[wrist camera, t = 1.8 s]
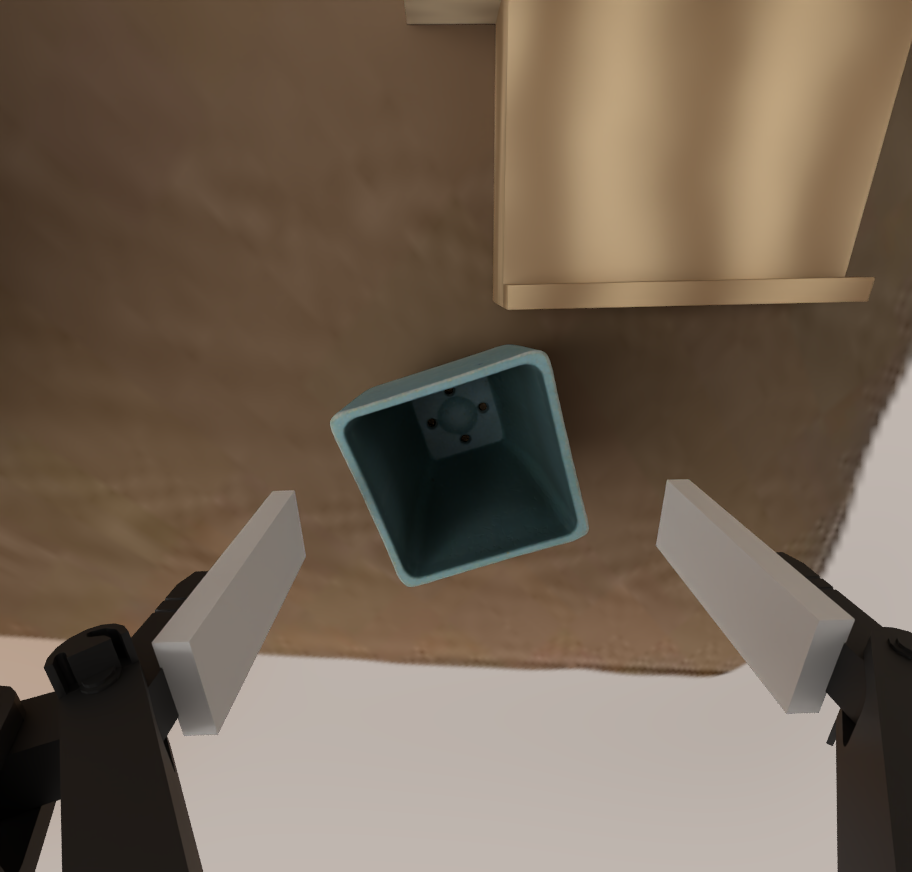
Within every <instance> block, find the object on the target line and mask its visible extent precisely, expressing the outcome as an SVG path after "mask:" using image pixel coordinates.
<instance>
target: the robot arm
mask: <svg viewBox="0 0 912 872" xmlns="http://www.w3.org/2000/svg"><path fill="white" fill-rule="evenodd" d="M656 546H657V548H658V549H659V550H660V552H661V553H662V554H663V555H664V557H665V558H666V559H667V561H668V562H669V563H670V564H671V566H672V567H673V568H674V570H675V571H676V572H677V573H678V575H679V576H680V577H681V579H682V580H683V581H684V582H685V584H686V585H687V586H688V588H689V589H690V590H691V591H692V593H693V594H694V595H695V597H696V598H697V599H698V600H699V602H700V603H701V604H702V606H703V607H704V608H705V609H706V611H707V612H708V613H709V615H710V616H711V617H712V619H713V620H714V621H715V622H716V624H717V625H718V626H719V628H720V629H721V630H722V631H723V633H724V634H725V635H726V637H727V638H728V639H729V640H730V642H731V643H732V644H733V646H734V647H735V648H736V649H737V651H738V652H739V653H740V655H741V656H742V657H743V658H744V660H745V661H746V662H747V664H748V665H749V666H750V667H751V669H752V670H753V671H754V672H755V674H756V675H757V676H758V678H759V679H760V680H761V682H762V683H763V684H764V685H765V687H766V688H767V689H768V691H769V692H770V693H771V694H772V696H773V697H774V698H775V700H776V701H777V702H778V704H779V705H780V706H781V707H782V709H783V710H784V711H785V713H786V714H792V713H819V711H820V708H821V706H822V703H823V701H824V698H825V696H826V693H828V695H829V696H830V697H831V698H832V699H833V700H834V701H835V702H836V703H837V705H839V707H840V710H839V713H838V715H837V718H836V720H835V723H834V725H833V728H832V730H831V732H830V735H829V737H828V740H827V742H826V743H827V744H829V745H831V746H833V744H834V742H835V740H836V766H837V767H836V773H837V845H838V846H837V848H838V849H837V851H838V853H837V854H838V872H912V633H911V632H908V631H904V630H901V629H897V628H891V627H882V626H881V625H879V624H878V623H877V622H876V621H874V620H873V619H872V618H871V617H870V616H868V615H867V614H866V613H865V612H863V611H862V610H861V609H860V608H858V607H857V606H856V605H855V604H853V603H852V602H851V601H850V600H848V599H847V598H846V597H845V596H843V595H842V594H841V593H840V592H839V591H837V590H834V589H833V587H832V586H831V585H830V584H829V583H827V582H826V581H825V580H824V579H820V577H819V575H817V574H816V573H815V572H814V571H812V570H811V569H810V568H809V567H808V566H806V565H805V564H804V563H802V562H800V561H798V560H796V559H794V558H793V557H791V556H789V555H787V554H785V553H783V552H774V551H773V550H772V549H771V548H770V547H768V546H767V545H766V544H765V543H764V542H763V541H761V540H760V539H759V538H758V537H757V536H755V535H754V534H753V533H752V532H751V531H749V530H748V529H747V528H746V527H745V526H744V525H742V524H741V523H740V522H739V521H738V520H736V519H735V518H734V517H733V516H732V515H730V514H729V513H728V512H727V511H726V510H725V509H723V508H722V507H721V506H720V505H719V504H717V503H716V502H715V501H714V500H713V499H711V498H710V497H709V496H708V495H707V494H706V493H704V492H703V491H702V490H701V489H700V488H698V487H697V486H696V485H695V484H694V483H692V482H691V481H690V480H689V479H676V480H667V483H666V489H665V495H664V501H663V507H662V513H661V519H660V524H659V530H658V536H657V542H656ZM305 557H306V554H305V548H304V542H303V536H302V530H301V524H300V519H299V513H298V507H297V501H296V495H295V490H290V491H272V492H271V494H270V495H269V496H268V497H267V499H266V500H265V501H264V503H263V504H262V505H261V506H260V508H259V509H258V510H257V511H256V513H255V514H254V515H253V516H252V518H251V519H250V520H249V521H248V523H247V524H246V525H245V526H244V528H243V529H242V530H241V531H240V533H239V534H238V535H237V536H236V538H235V539H234V540H233V541H232V543H231V544H230V545H229V546H228V548H227V549H226V550H225V551H224V553H223V554H222V555H221V556H220V558H219V559H218V560H217V561H216V563H215V564H214V565H213V566H212V568H211V569H210V570H209V571H200V572H194V573H193V574H191V575H190V576H189V577H187V578H186V579H184V580H183V581H181V582H180V583H179V584H177V585H176V587H175V588H174V589H173V590H172V591H171V592H170V594H169V595H168V596H167V597H166V598H165V601H163V602H162V603H161V604H160V605H159V606H158V607H157V609H156V610H155V613H152V614H151V615H150V617H149V618H148V619H147V620H146V621H145V622H144V624H143V625H142V626H141V627H140V628H139V629H138V631H137V632H136V633H135V634H134V635H133V636H132V637H130V635H129V632H128V630H127V629H126V628H125V626H123V625H119V624H105V625H100V626H96V627H93V628H90V629H87V630H85V631H83V632H81V633H79V634H77V635H75V636H73V637H71V638H69V639H68V640H67V641H65V642H64V643H62V644H61V645H60V646H58V647H57V648H56V649H55V650H54V651H53V652H52V653H51V655H50V656H49V657H48V658H47V660H46V663H45V666H44V669H45V671H46V673H47V675H48V677H49V680H50V682H51V684H52V686H53V688H54V690H55V692H52V693H48V694H44V695H41V696H37V697H34V698H30V699H26V700H22V701H20V699H19V697H18V696H17V694H16V692H15V691H14V690H13V689H12V688H11V687H9V686H0V872H35V869H36V866H37V863H38V860H39V856H40V853H41V850H42V846H43V843H44V839H45V836H46V833H47V829H48V826H49V823H50V820H51V817H52V813H53V810H54V806H55V803H56V801H57V800H60V799H61V832H62V833H61V834H62V835H61V836H62V872H203V869H202V865H201V862H200V858H199V854H198V850H197V846H196V842H195V839H194V835H193V831H192V827H191V823H190V819H189V816H188V811H187V808H186V804H185V800H184V796H183V792H182V789H181V784H180V781H179V777H178V773H177V769H176V766H175V762H174V758H173V754H172V750H171V746H170V743H169V740H168V738H167V735H168V733H169V731H170V730H171V728H172V726H173V725H174V723H175V721H176V720H177V718H178V720H179V723H180V726H181V729H182V732H183V735H184V736H191V735H218V733H219V731H220V729H221V727H222V725H223V723H224V721H225V719H226V717H227V715H228V713H229V711H230V709H231V707H232V705H233V703H234V701H235V699H236V697H237V695H238V693H239V691H240V689H241V687H242V684H243V683H244V681H245V678H246V677H247V674H248V672H249V670H250V668H251V666H252V664H253V662H254V660H255V658H256V656H257V654H258V652H259V650H260V648H261V646H262V644H263V642H264V640H265V638H266V636H267V634H268V632H269V630H270V628H271V626H272V624H273V622H274V620H275V618H276V616H277V614H278V612H279V610H280V608H281V606H282V604H283V602H284V600H285V598H286V596H287V594H288V592H289V590H290V588H291V586H292V584H293V582H294V579H295V577H296V575H297V573H298V571H299V569H300V567H301V565H302V563H303V561H304V559H305Z"/></svg>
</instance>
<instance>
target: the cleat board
mask: <svg viewBox="0 0 912 872" xmlns="http://www.w3.org/2000/svg"><path fill="white" fill-rule="evenodd" d="M404 5H405V13H406V21H407V24H496V43H495V139H494V235H493V302H495V303H496V304H498V305H500V306H502V307H504V308H505V309H507V310H520V309H563V308H605V307H647V306H689V305H731V304H774V303H816V302H858V301H868V299H869V296H870V292H871V289H872V286H873V283H874V279H875V277H845V274H846V271H847V267H848V264H849V260H850V257H851V253H852V250H853V246H854V243H855V239H856V236H857V232H858V229H859V225H860V222H861V218H862V215H863V211H864V208H865V204H866V200H867V197H868V193H869V190H870V186H871V183H872V179H873V176H874V172H875V169H876V165H877V162H878V158H879V155H880V151H881V148H882V144H883V141H884V137H885V134H886V130H887V127H888V123H889V120H890V116H891V112H892V109H893V105H894V102H895V98H896V95H897V91H898V88H899V84H900V81H901V77H902V74H903V70H904V67H905V63H906V60H907V56H908V53H909V49H910V46H911V42H912V0H404Z"/></svg>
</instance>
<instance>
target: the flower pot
mask: <svg viewBox="0 0 912 872" xmlns="http://www.w3.org/2000/svg"><path fill="white" fill-rule="evenodd" d="M449 388H453V389H454V390H453V393H452V394H446V393H445V391H444V390H446V389H449ZM480 403H485V404H486V405H487V408H486V409H485V410H484V411H481V410H479V408H478V406H479V404H480ZM429 419H434V420H435V421H436V425H435V426H433V427H430V426H429V425H428V420H429ZM330 427H331V430H332V432H333V435H334V437H335V440H336V442H337V444H338V446H339V448H340V450H341V452H342V455H343V457H344V458H345V460H346V462H347V465H348V467H349V469H350V471H351V473H352V475H353V477H354V480H355V481H356V483H357V485H358V487H359V490H360V492H361V494H362V496H363V498H364V500H365V503H366V505H367V507H368V509H369V511H370V514H371V516H372V518H373V520H374V523H375V524H376V527H377V529H378V531H379V533H380V536H381V537H382V540H383V542H384V545H385V547H386V549H387V551H388V554H389V556H390V559H391V561H392V563H393V566H394V568H395V571H396V573H397V575H398V577H399V579H400V580H401V581H402V582H403V583H404V584H405V585H406V586H408V587H414V586H419V585H423V584H426V583H430V582H433V581H436V580H440V579H443V578H447V577H450V576H453V575H456V574H460V573H463V572H466V571H469V570H473V569H476V568H479V567H483V566H486V565H489V564H494V563H497V562H500V561H503V560H506V559H509V558H513V557H516V556H520V555H523V554H526V553H532V552H535V551H538V550H541V549H545V548H549V547H552V546H556V545H561V544H565V543H568V542H572V541H574V540H577V539H579V538H581V537H582V536H584V535H586V534H587V532H588V530H589V526H588V519H587V515H586V512H585V507H584V503H583V500H582V495H581V491H580V488H579V483H578V479H577V475H576V471H575V466H574V463H573V459H572V454H571V450H570V446H569V440H568V437H567V433H566V429H565V424H564V419H563V415H562V411H561V406H560V401H559V398H558V393H557V388H556V383H555V379H554V375H553V369H552V366H551V363H550V359H549V357H548V356H547V354H546V353H545V352H543V351H541V350H535V349H531V348H527V347H523V346H518V345H502V346H499V347H495V348H492V349H489V350H486V351H483V352H480V353H477V354H474V355H471V356H468V357H465V358H462V359H459V360H456V361H453V362H450V363H447V364H444V365H441V366H438V367H435V368H431V369H428V370H425V371H422V372H419V373H416V374H413V375H410V376H406V377H403V378H400V379H397V380H394V381H391V382H388V383H384V384H381V385H378V386H375V387H373V388H371V389H368V390H367V391H365V392H364V393H362V394H361V395H359V396H358V397H357V398H356V399H354V400H353V401H352V402H350V403H349V404H348V405H347V406H345V407H344V408H343V409H342V410H341V411H339V412H338V413H337V414H335V415H334V416H333V417H332V419H331V421H330ZM462 435H468V436H469V440H468V441H467V442H462V441H461V437H462Z"/></svg>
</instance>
